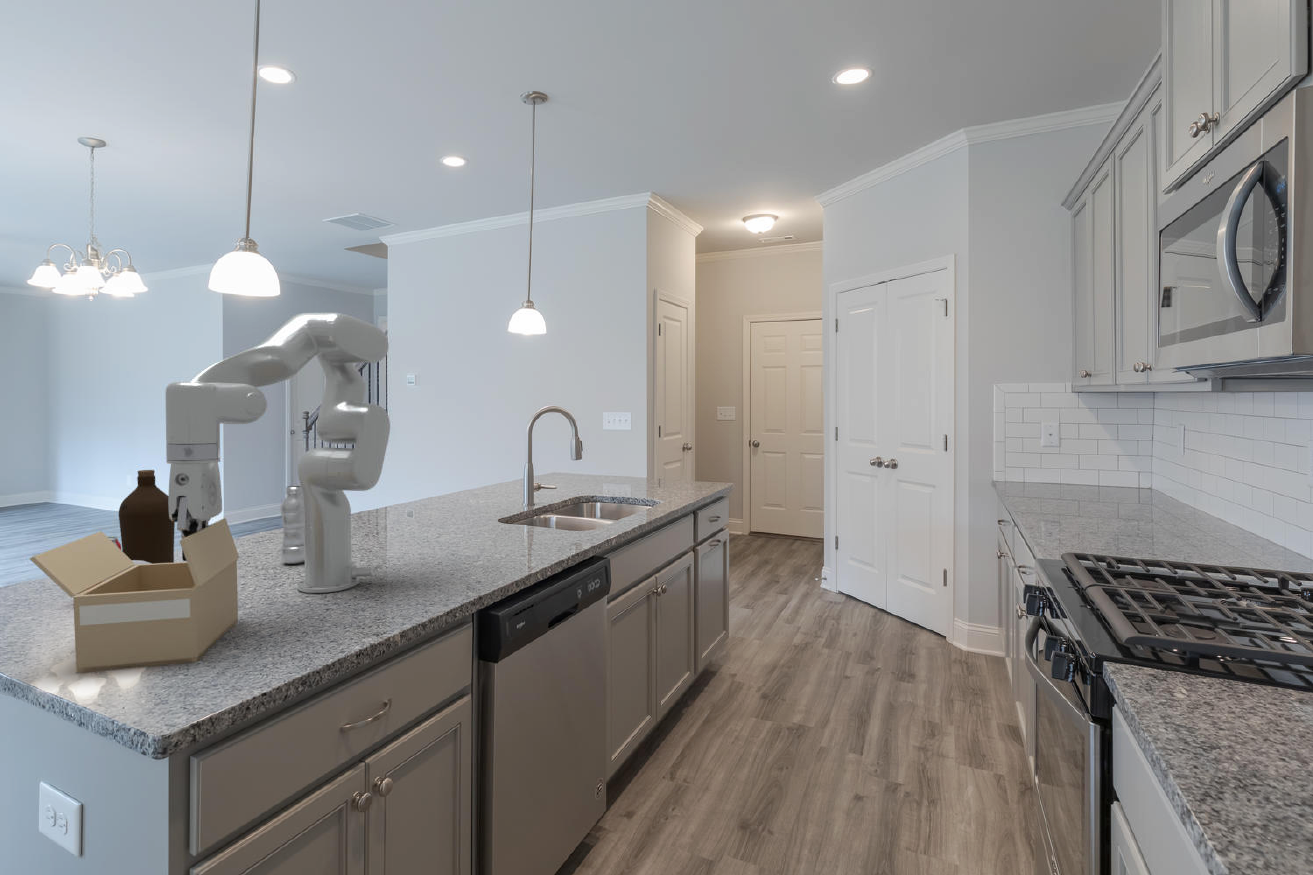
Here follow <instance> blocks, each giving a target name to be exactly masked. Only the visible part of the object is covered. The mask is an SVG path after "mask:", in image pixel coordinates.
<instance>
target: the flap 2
mask: <svg viewBox="0 0 1313 875" xmlns="http://www.w3.org/2000/svg"><path fill="white" fill-rule="evenodd" d="M179 544H180V546H181V551H182V550H183V552H184V555H185V558H186V561H185V562H187V564H188V566H189V569H190V572H191V575H192V577H193V580H194V583H195V586H196V587H199V586H201V585H202V584H204V583H205V582H206V581H208V580H209V579H211V578H212V577H213V576H215V575H216V574H218V573H219V572H220V571H222V570H223V569H224V568H226V567H227V566H229V565H230V564H231V563H233V562H234V561H236V560H237V561H238V559H240V555H239V553H238V550H237V547H236V544H235V541H234V538H233V536H232V532H231V529H230V526H229V524H228V521H227V518H226V517H224V518H221V519H218V520H217V521H215V522H212V523H211V524H208V527H206V528H203V529H202V530H200V531H197V532H195V533H193V534H191V535H189V536H187V537H185V538H184V539H182V538H181V539H179Z"/></svg>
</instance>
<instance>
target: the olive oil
mask: <svg viewBox="0 0 1313 875" xmlns="http://www.w3.org/2000/svg"><path fill="white" fill-rule="evenodd" d="M136 481H137V486H136V487H135V489H134V490H133V491H131V492H130V493H129V494H128V495H127V496H126V497H125V498H124V499H123V501H122V502H121V503H120V506H119V508H118V520H119V530H120V540H121V551H122V552H123V553H124V554H125V555H126V556H128V557H129V558H130V559H131V560H141V561H146V562H149V563H152V564H157V563H175V529H176V528H175V527H176V526H175V524H176V522H173V521H172V520H171V519H170V517H169V504H168V499H169V494H167V493H165V491H163V490H161V489H160V488H159V487H158V486H157V484H156V475H155V470H154V469H142V470H137V477H136Z"/></svg>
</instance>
